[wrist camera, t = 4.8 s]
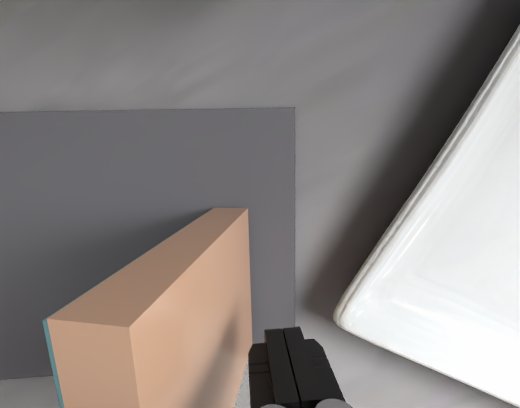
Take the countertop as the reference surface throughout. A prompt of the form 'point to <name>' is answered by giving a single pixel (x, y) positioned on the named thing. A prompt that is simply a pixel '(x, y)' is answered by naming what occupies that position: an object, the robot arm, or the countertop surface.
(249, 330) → the tile
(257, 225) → the mat
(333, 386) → the robot arm
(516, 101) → the square plate
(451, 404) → the countertop surface
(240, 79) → the countertop surface
